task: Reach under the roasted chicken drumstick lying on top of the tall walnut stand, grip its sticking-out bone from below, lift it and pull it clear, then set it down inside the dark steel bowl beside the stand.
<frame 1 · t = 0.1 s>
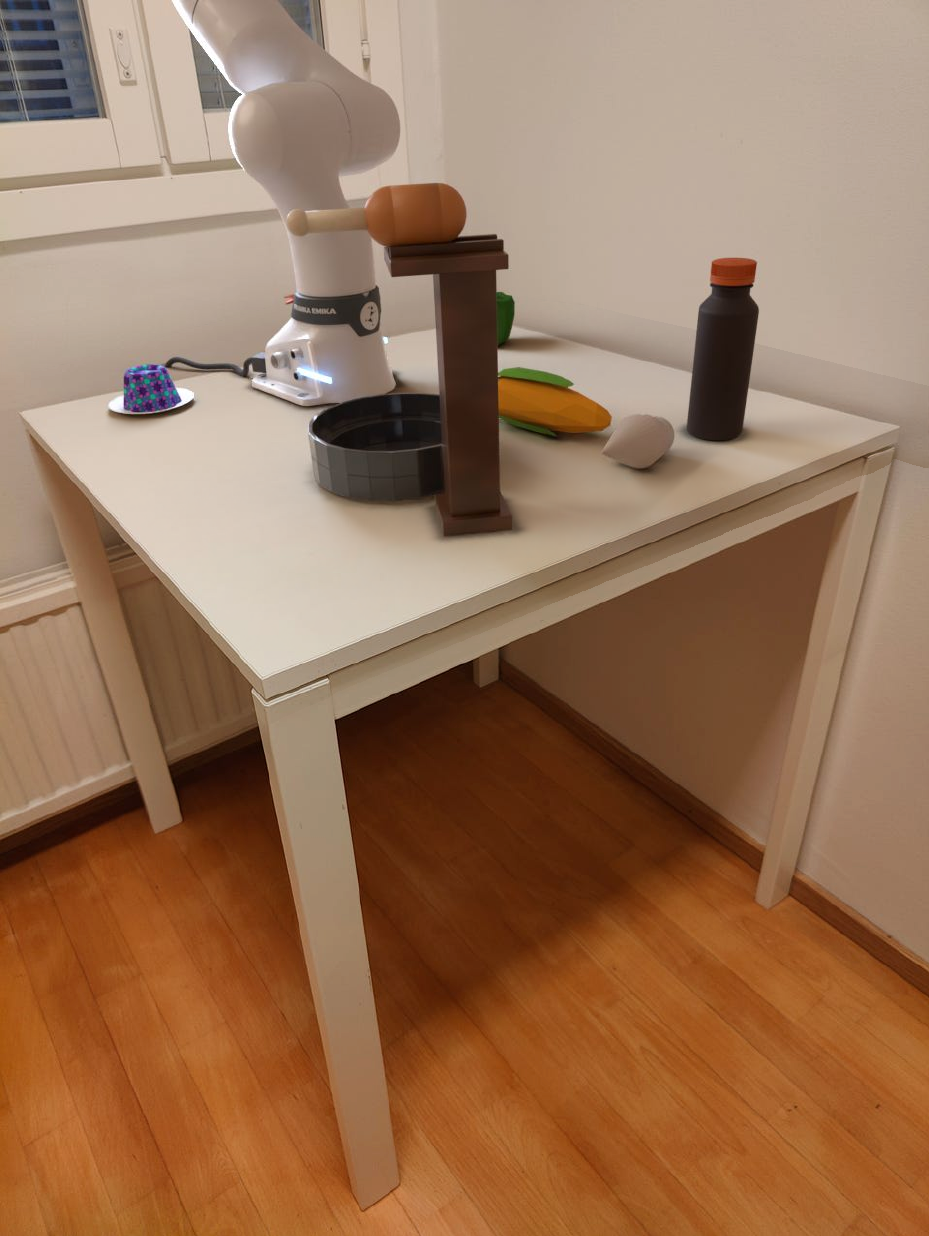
bottle: (713, 433, 108), on the table
pudding: (153, 406, 126), on the table
drumstick: (394, 247, 75), point 27 cm above the table, touching stand
ice cream cone: (632, 471, 99), on the table
bowl: (400, 469, 101), on the table
corn: (548, 432, 111), on the table
stand: (472, 518, 89), on the table
bell pepper: (489, 344, 147), on the table
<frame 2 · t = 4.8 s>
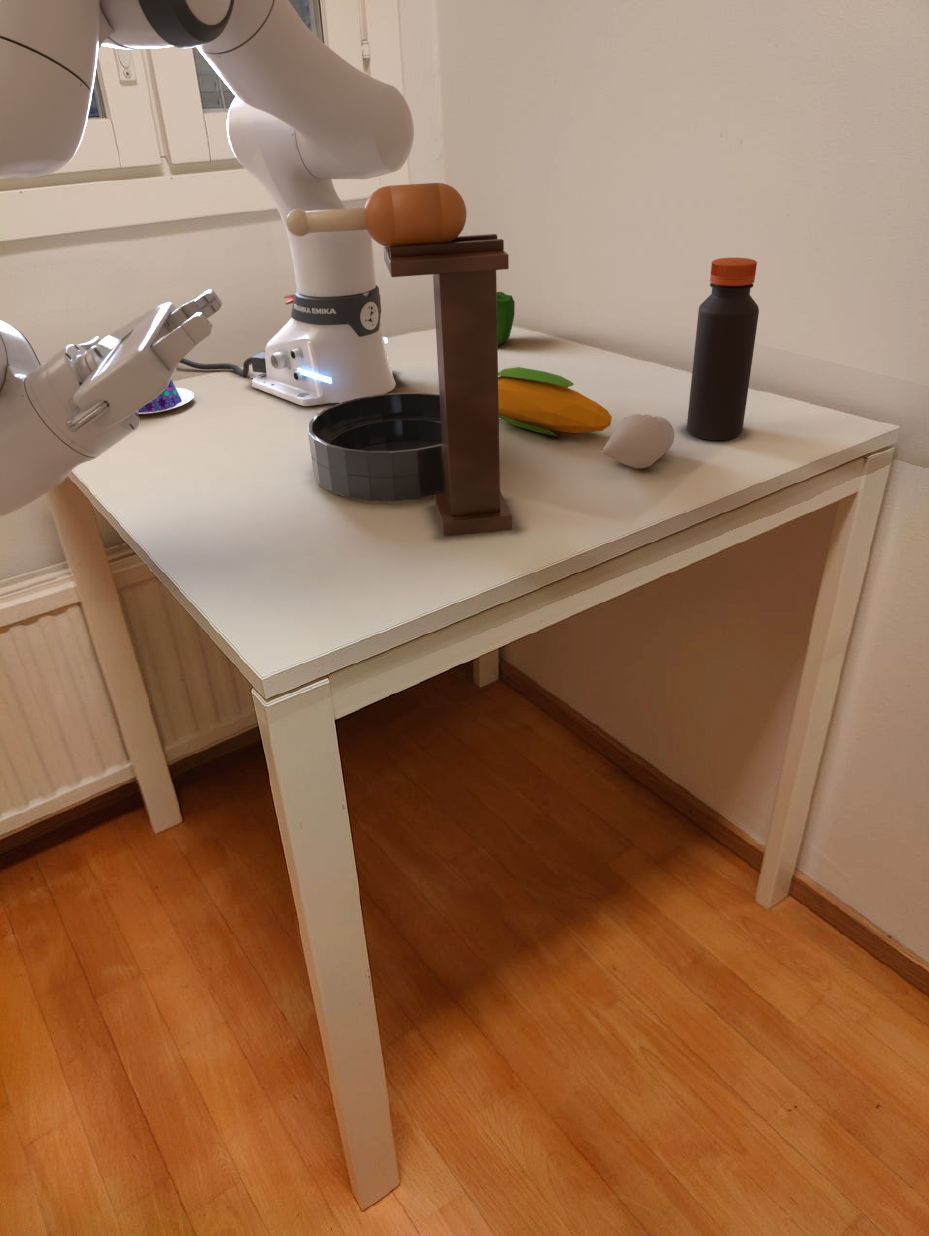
hand: (212, 308, 75), 23 cm above the table, tool pointing upward, fingers open, 8 cm apart
nothing on the table moved.
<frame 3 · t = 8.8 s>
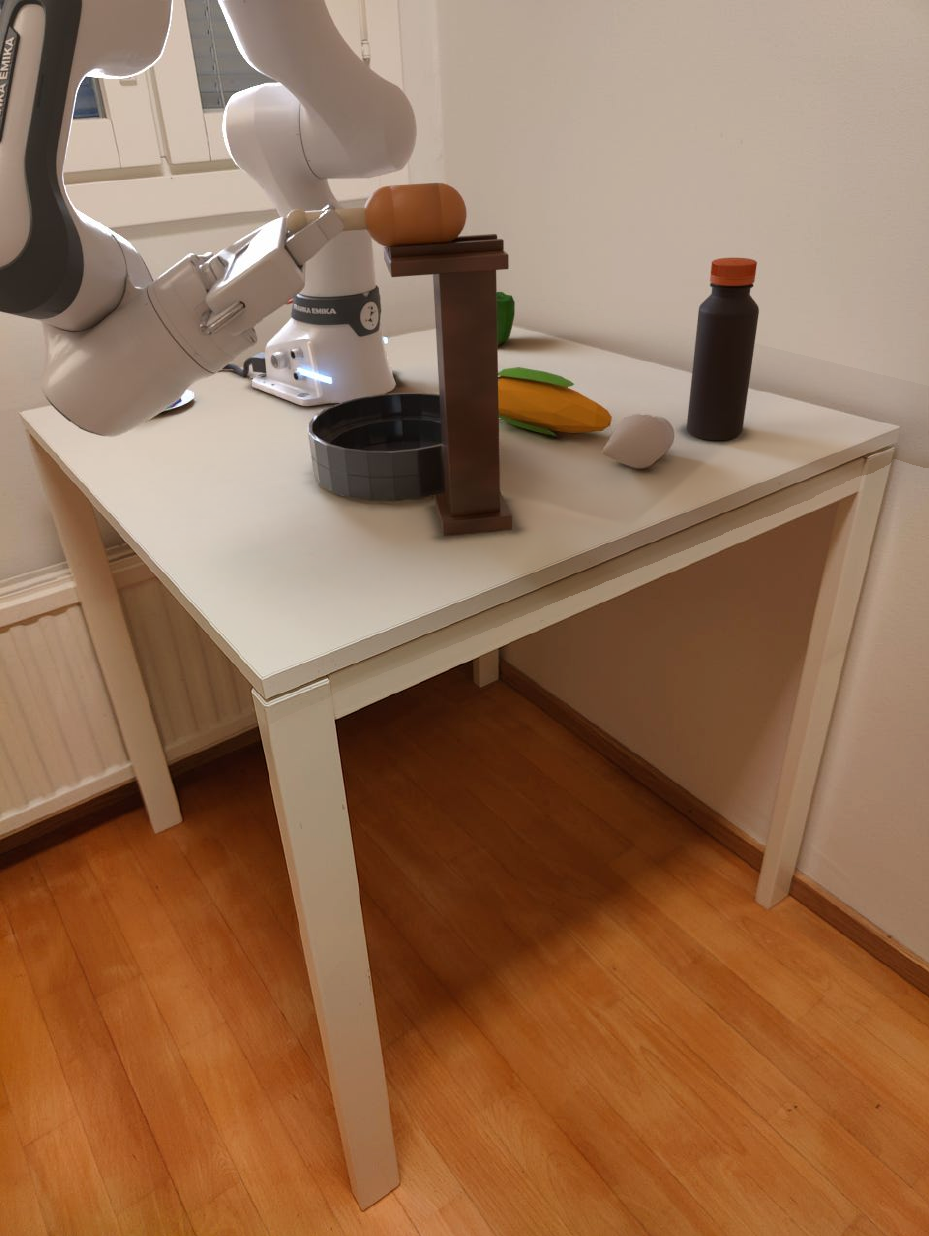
hand: (339, 214, 73), 29 cm above the table, tool pointing upward, fingers closed on drumstick
drumstick: (394, 247, 75), point 27 cm above the table, touching gripper, stand
everything else where it was.
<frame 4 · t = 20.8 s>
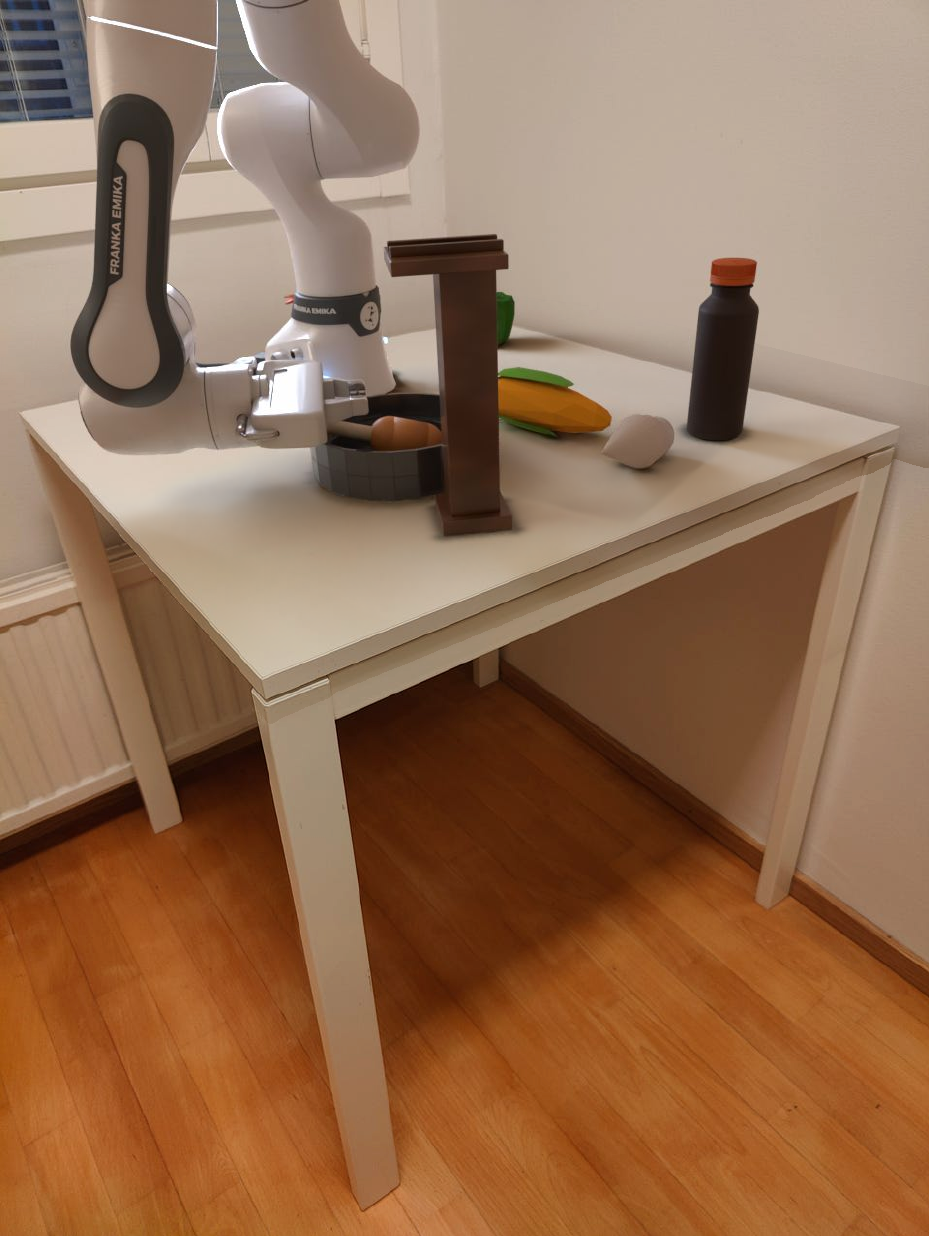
hand: (366, 396, 96), 9 cm above the table, tool horizontal, fingers open, 4 cm apart
drumstick: (385, 456, 100), point 2 cm above the table, tilted 16°, touching bowl
everything else where it was.
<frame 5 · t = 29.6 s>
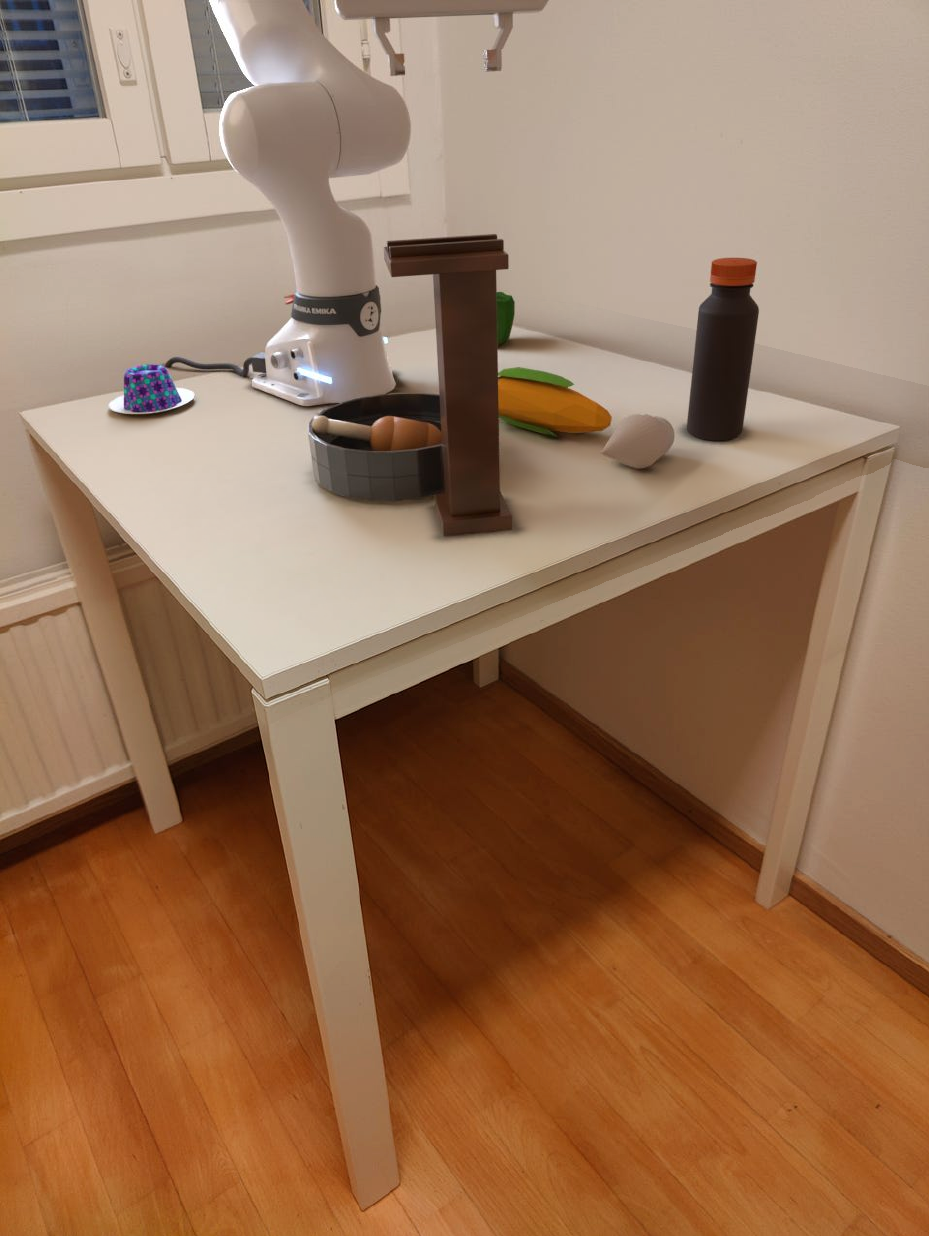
hand: (445, 73, 84), 39 cm above the table, tool pointing down, fingers open, 8 cm apart
nothing on the table moved.
at the end: drumstick inside the target area in the bowl (1.6 cm from its centre), point 1.7 cm above the bowl's base; the gripper is holding nothing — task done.
